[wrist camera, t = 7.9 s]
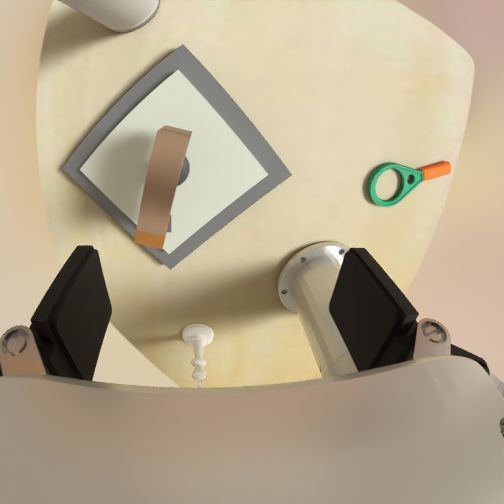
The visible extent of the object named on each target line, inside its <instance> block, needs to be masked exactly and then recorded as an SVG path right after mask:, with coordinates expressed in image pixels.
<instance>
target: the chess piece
mask: <svg viewBox="0 0 504 504" xmlns="http://www.w3.org/2000/svg"><path fill="white" fill-rule="evenodd" d="M182 335H183V340H184V341H185V342H186V343H187V344H189V345H191V346H193V348H194V354H195V359H193V360H192V361H191V363H192V365H193V366H194V367H195V368H194V371H193V373H192V377H193V378H194V379H196V380H198V388H202V385H201V383H202V380H203V379H205V378H206V373H205V371H204V368H203V366H205V365H206V361H205V360H204V359H202V352H203V346H206V345H208V344H209V343H211V341H212V340H213V335H214V334H213V331H212V329H211V328H210V327H208V326H206V325H203V324H192V325H189V326H187V327H186V328H184V330H183V332H182Z"/></svg>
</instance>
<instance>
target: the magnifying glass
mask: <svg viewBox="0 0 504 504" xmlns="http://www.w3.org/2000/svg"><path fill="white" fill-rule="evenodd" d="M391 168H393V169H396V170H397V171H398V172H399V173H400V176H401V186H400V189H399V191H398V193H397V194H396V195H395V196H394V197H393V198H391V199H389V200H382V199H379V198H378V197H377V195H376V191H375V187H376V182H377V179H378V178H379V176H380V175H381V174H382V173H383V172H384V171H385V170H387V169H391ZM450 172H451V165H450V163H449V162H442V163H439V164H435V165H431V166H427V167H423V168H420V169H413V168H409V167H406V166H403V165H400V164H397V163H392V162H388V163H384V164H382V165H380V166H379V167H377V168H376V169H375V170H374V171H373V173H372V174H371V176H370V178H369V181H368V185H367V190H368V195H369V197H370V199H371V200H372V201H373V202H374V203H375V204H377V205H379V206H382V207H391V206H394V205H396V204H397V203H399V202H400V201H401V200H402V199H403V198H405V197H406V196H407V195H408V194H409V193H410V192H411V191H412V190H413V189H414V188H415V187H416V186H418V185H419V184H420V183H421V182H423V181H426V180H429V179H432V178H436V177H439V176H443V175H446V174H449V173H450ZM409 175H412V178H411V181H410V182H407V178H408V176H409Z"/></svg>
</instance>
